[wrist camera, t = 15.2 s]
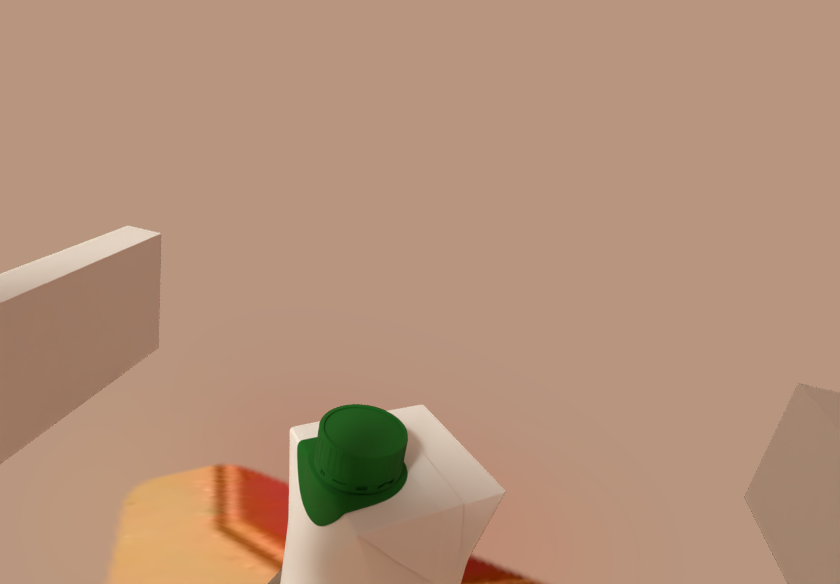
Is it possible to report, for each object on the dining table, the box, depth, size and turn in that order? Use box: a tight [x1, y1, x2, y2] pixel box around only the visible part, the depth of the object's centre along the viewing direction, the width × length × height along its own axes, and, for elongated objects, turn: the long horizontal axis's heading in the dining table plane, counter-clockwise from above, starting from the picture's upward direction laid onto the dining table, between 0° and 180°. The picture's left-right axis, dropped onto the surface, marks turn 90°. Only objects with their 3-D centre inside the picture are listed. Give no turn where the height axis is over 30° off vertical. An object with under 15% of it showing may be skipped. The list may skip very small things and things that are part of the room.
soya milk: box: [280, 404, 506, 584], centre depth 32 cm, size 9×9×20 cm
